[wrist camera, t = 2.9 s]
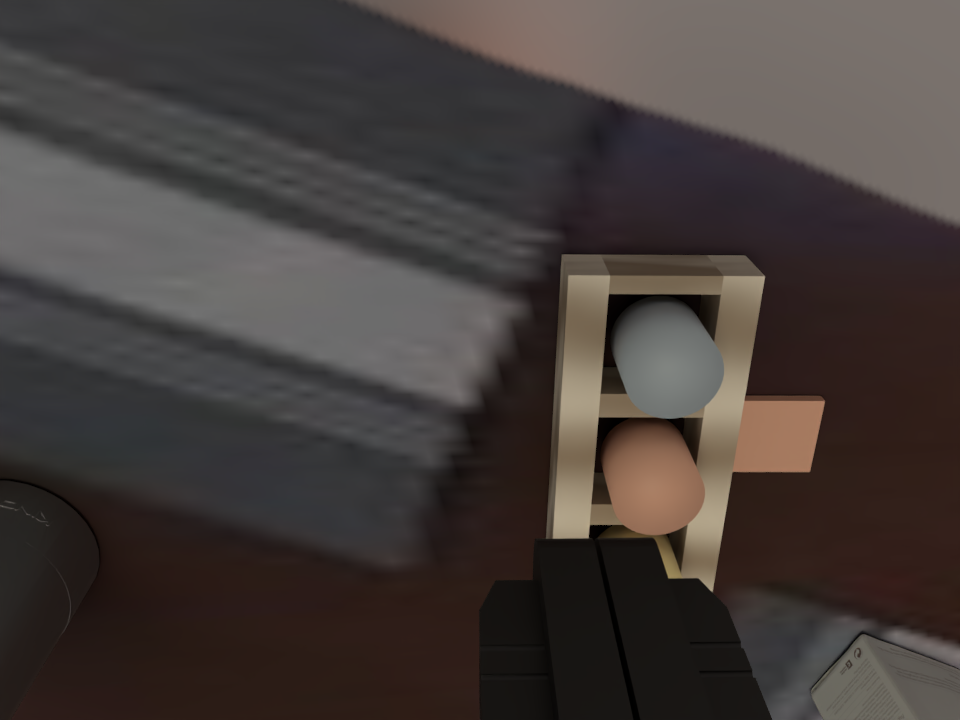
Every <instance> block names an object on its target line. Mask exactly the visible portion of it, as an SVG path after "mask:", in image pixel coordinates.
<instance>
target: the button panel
mask: <svg viewBox="0 0 960 720" xmlns="http://www.w3.org/2000/svg"><path fill="white" fill-rule="evenodd" d="M764 280H765V276H764V275H763V274H762V273H761V271H760V270H759V269H758V268H757V267H756V266H755V265H754V264H753V263H752V262H751V261H750V260H749V259H748V258H747V257H746V256H745V255H580V254H562V259H561V277H560V295H559V314H558V332H557V350H556V368H555V386H554V404H553V422H552V440H551V459H550V477H549V495H548V513H547V531H546V539H565V538H589V527H590V525H623V524H622V523H621V522H620V521H619V519H618V518H617V516H616V514H615V512H614V509H613V506H612V502H611V498H610V495H609V491H608V487H607V483H606V480H605V476H604V473H594V466H595V454H596V442H597V430H598V417H654V416H651V415H648V414H646V413H644V412H643V411H641V410H640V409H639V408H637V407H636V406H635V405H634V404H633V403H632V401H631V400H630V398H629V396H628V394H627V392H626V389H625V387H624V384H623V381H622V379H621V376H620V373H619V370H618V368H617V367H603V357H604V344H605V332H606V320H607V308H608V296H609V294H701V302H700V309H699V317H698V318H699V320H700V321H701V323H702V324H703V326H704V328H705V329H706V331H707V332H708V334H709V335H710V337H711V338H712V340H713V341H714V343H715V345H716V346H717V348H718V349H719V351H720V353H721V355H722V358H723V362H724V377H723V381H722V384H721V386H720V388H719V390H718V392H717V394H716V395H715V396H714V398H713V399H712V400H711V401H710V402H709V403H708V404H707V405H706V406H704V407H703V408H702V409H700V410H699V411H697V412H695V413H693V414H690V415H688V416H684V418H685V422H684V429H683V438H684V441H685V443H686V445H687V447H688V449H689V452H690V454H691V456H692V458H693V461H694V463H695V465H696V467H697V469H698V472H699V474H700V476H701V478H702V480H703V483H704V487H705V499H704V503H703V505H702V508H701V510H700V511H699V513H698V514H697V516H696V517H695V518H694V519H693V520H692V521H691V522H690V523H688V524H687V525H686V526H684V527H683V528H681V529H679V530H677V531H674V532H671V533H670V534H669V541H670V544H671V547H672V550H673V552H674V555H675V558H676V561H677V564H678V567H679V570H680V572H681V575H682V578H699V579H700V580H701V581H702V582H703V583H704V584H705V585H706V586H707V587H708V588H709V590H710V591H711V592H713V586H714V580H715V574H716V568H717V562H718V556H719V550H720V544H721V538H722V532H723V526H724V520H725V514H726V508H727V502H728V496H729V490H730V484H731V478H732V472H733V466H734V460H735V454H736V448H737V442H738V436H739V430H740V424H741V418H742V412H743V406H744V400H745V394H746V388H747V382H748V376H749V370H750V364H751V358H752V352H753V346H754V340H755V334H756V328H757V322H758V316H759V310H760V304H761V298H762V292H763V286H764Z"/></svg>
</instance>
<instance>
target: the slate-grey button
mask: <svg viewBox="0 0 960 720" xmlns="http://www.w3.org/2000/svg"><path fill="white" fill-rule="evenodd" d="M610 346H611V351H612V354H613V357H614V360H615V362H616V365H617V368H618V370H619V373H620V376H621V379H622V381H623V384H624V387H625V389H626V392H627V394H628V396H629V398H630V400H631V401H632V403H633V404H634V405H635V406H636V407H637V408H639V409H640V410H641V411H643V412H644V413H646V414H648V415H651V416H654V417H658V418H665V419H673V418H680V417H684V416H688V415H690V414H693V413H695V412H697V411H699V410H700V409H702V408H703V407H704V406H706V405H707V404H708V403H709V402H710V401H711V400H712V399H713V398H714V396H715V395H716V394H717V392H718V390H719V388H720V386H721V384H722V381H723V377H724V362H723V358H722V355H721V353H720V351H719V349H718V348H717V346H716V345H715V343H714V341H713V340H712V338H711V337H710V335H709V334H708V332H707V331H706V329H705V328H704V326H703V324H702V323H701V321H700V320H699V318H698V317H697V315H696V314H695V312H694V311H693V310H692V309H691V308H690V307H689V306H688V305H687V304H686V303H684V302H683V301H681V300H679V299H676V298H673V297H669V296H651V297H647V298H644V299H641V300H639V301H636V302H635V303H633V304H631V305H630V306H629V307H627V308H626V309H625V310H624V311H623V312H622V313H621V314H620V315H619V317H618V318H617V320H616V321H615V323H614V326H613V328H612V331H611V337H610Z"/></svg>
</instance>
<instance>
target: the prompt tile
mask: <svg viewBox="0 0 960 720" xmlns="http://www.w3.org/2000/svg"><path fill="white" fill-rule="evenodd" d="M824 404H825V400H824V399H823V398H822V397H821V396H745V400H744V406H743V412H742V418H741V424H740V430H739V436H738V442H737V448H736V454H735V460H734V466H733V472H810V469H811V464H812V460H813V455H814V450H815V446H816V441H817V436H818V432H819V427H820V422H821V418H822V413H823V408H824Z"/></svg>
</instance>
